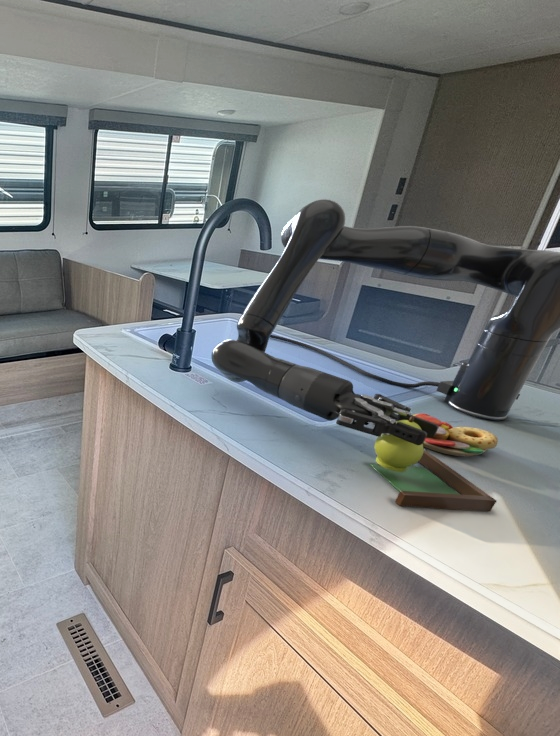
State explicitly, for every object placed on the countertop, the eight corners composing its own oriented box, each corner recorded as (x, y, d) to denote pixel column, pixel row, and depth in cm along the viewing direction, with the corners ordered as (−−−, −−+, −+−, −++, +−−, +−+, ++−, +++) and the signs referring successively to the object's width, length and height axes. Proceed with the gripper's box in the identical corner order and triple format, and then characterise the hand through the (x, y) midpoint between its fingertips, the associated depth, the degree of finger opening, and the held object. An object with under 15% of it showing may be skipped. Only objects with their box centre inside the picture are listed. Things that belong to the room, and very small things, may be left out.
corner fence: (345, 455, 73) (349, 445, 72) (421, 459, 73) (426, 450, 72) (399, 506, 61) (405, 495, 61) (490, 511, 61) (497, 500, 60)
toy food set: (501, 453, 76) (510, 438, 75) (460, 468, 71) (469, 451, 70) (418, 418, 87) (424, 404, 86) (378, 429, 82) (384, 414, 81)
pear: (359, 455, 71) (379, 408, 67) (388, 452, 72) (409, 406, 68) (393, 477, 65) (416, 428, 62) (423, 473, 67) (448, 425, 63)
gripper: (299, 379, 71) (422, 425, 59) (340, 365, 79) (458, 403, 66) (286, 418, 75) (401, 470, 62) (327, 401, 82) (437, 444, 69)
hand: (429, 435), depth 64 cm, fingers closed on pear, 4 cm apart
